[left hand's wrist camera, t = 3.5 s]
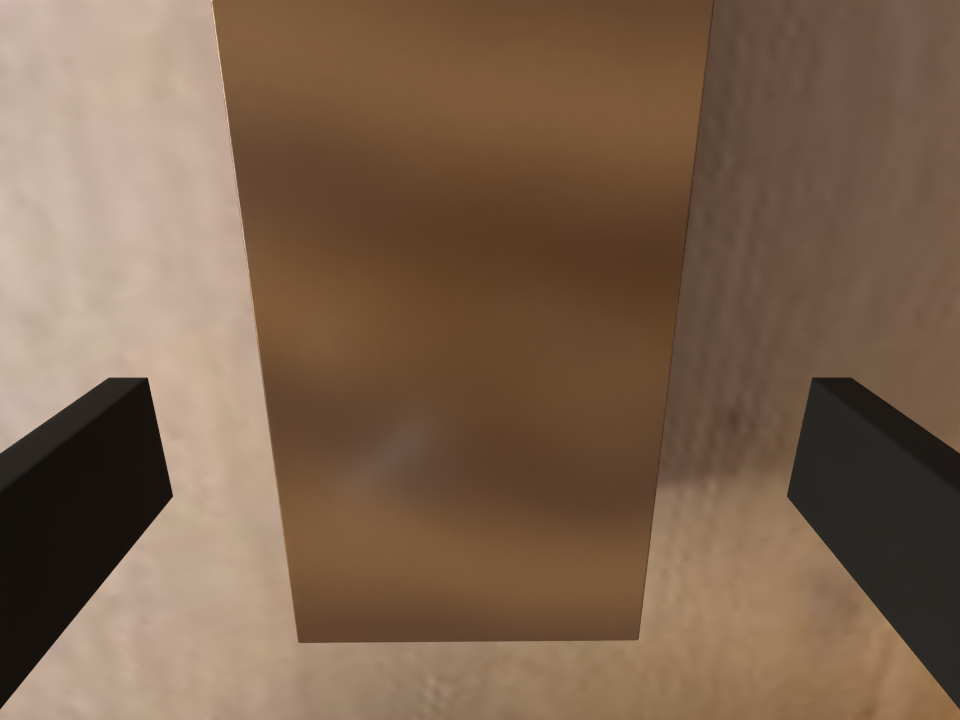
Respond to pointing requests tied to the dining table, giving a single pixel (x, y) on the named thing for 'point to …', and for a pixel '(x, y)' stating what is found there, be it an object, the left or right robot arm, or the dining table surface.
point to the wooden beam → (465, 300)
